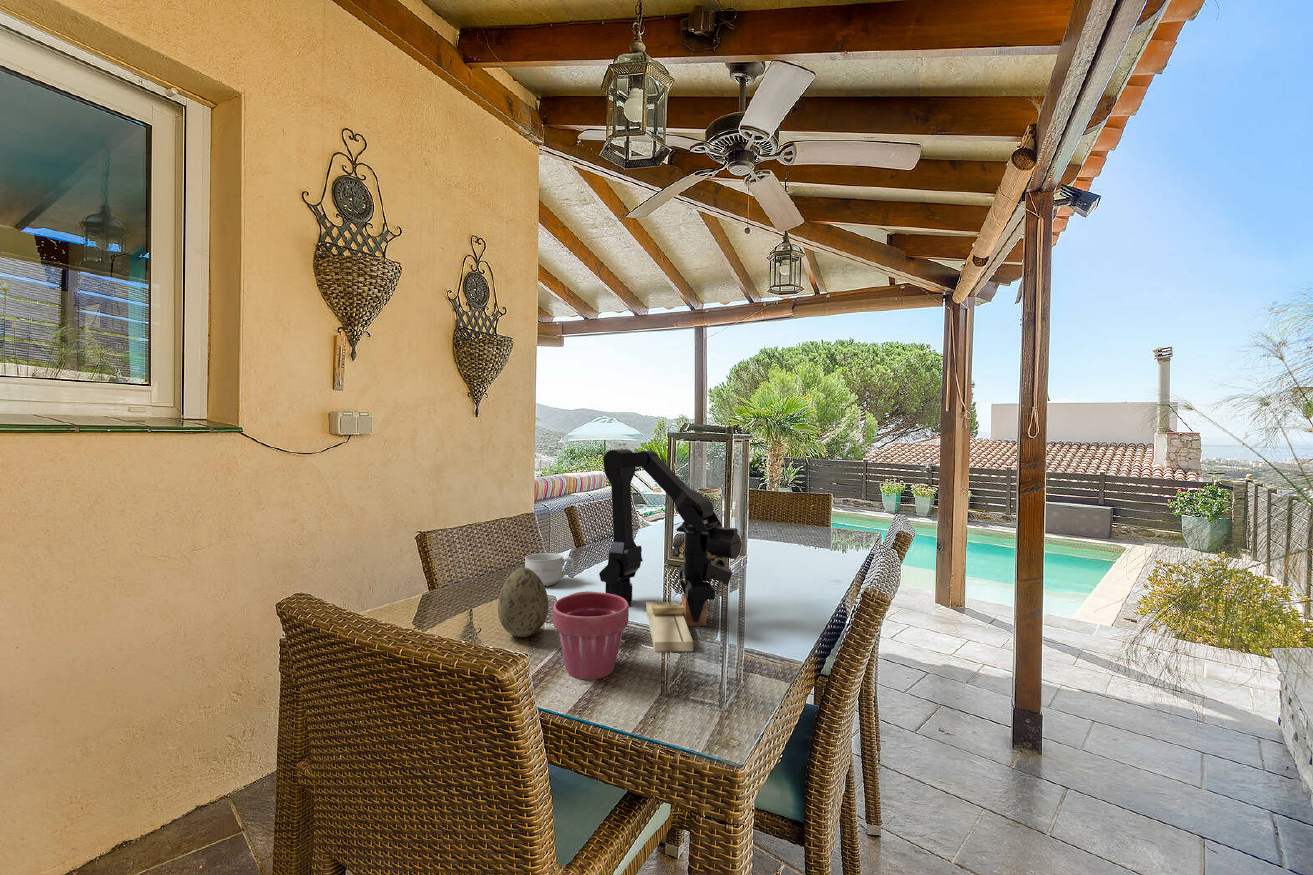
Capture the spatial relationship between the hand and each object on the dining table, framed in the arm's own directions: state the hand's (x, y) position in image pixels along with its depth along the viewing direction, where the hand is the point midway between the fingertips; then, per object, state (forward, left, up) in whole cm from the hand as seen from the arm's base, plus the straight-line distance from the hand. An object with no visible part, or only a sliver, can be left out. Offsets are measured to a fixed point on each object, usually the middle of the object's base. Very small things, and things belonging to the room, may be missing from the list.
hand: (694, 617), depth 135 cm
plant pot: (-24, -24, -1) cm, 34 cm away
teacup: (-37, +31, -1) cm, 48 cm away
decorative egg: (-39, -7, -1) cm, 39 cm away
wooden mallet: (-4, 0, -1) cm, 4 cm away
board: (-7, -4, -1) cm, 8 cm away
